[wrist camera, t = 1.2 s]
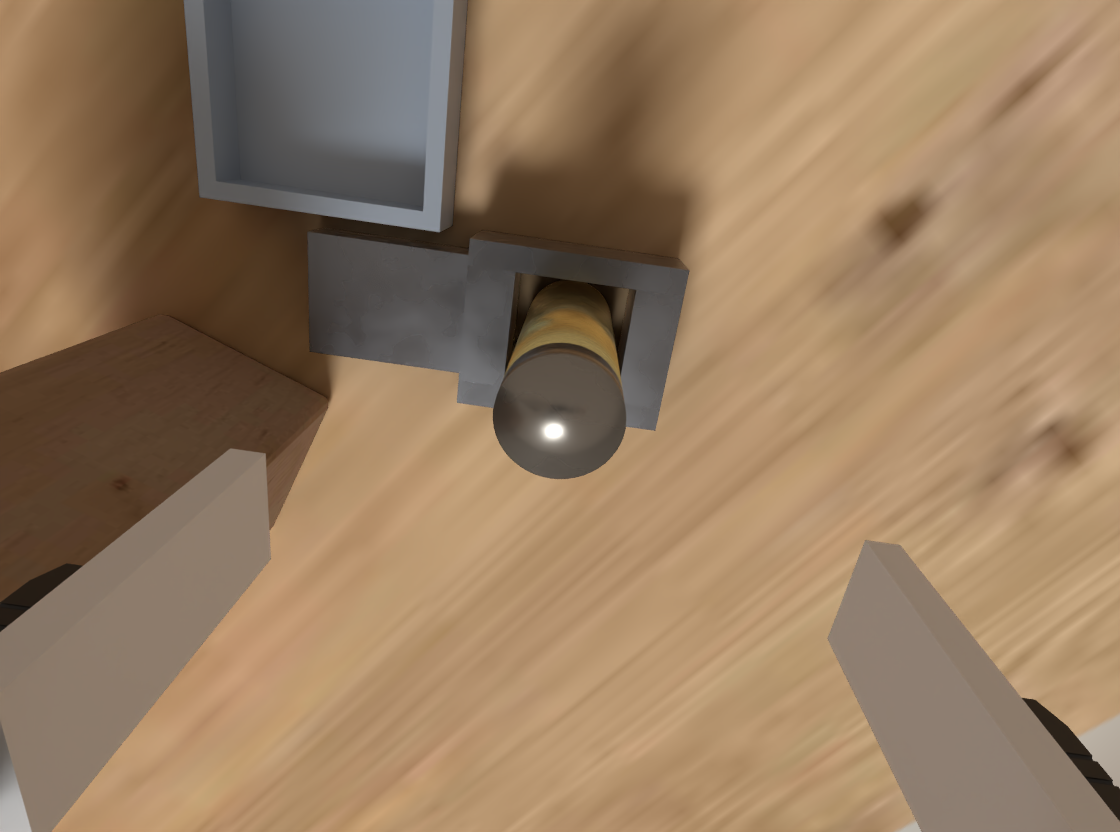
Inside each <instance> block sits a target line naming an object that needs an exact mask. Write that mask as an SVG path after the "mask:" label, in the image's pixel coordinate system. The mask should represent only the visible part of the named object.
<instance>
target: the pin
mask: <svg viewBox="0 0 1120 832" xmlns="http://www.w3.org/2000/svg"><path fill="white" fill-rule="evenodd" d="M493 424H494V429H495V433H496V436H497V439H498V441H499V443H500V445H501V447H502V448H503V450H504V451H505V452H506V454H507V455H508V456H509V457H510V458H511V459H512V460H513V461H514V462H515V463H516V464H518V465H519V466H520V467H522V468H523V469H525V470H527V471H529V472H531V473H533V474H536V475H539V476H542V477H547V478H553V479H569V478H575V477H579V476H583V475H586V474H588V473H590V472H592V471H594V470H596V469H598V468H599V467H601V466H602V465H603V464H605V463H606V462H607V461H608V460H609V459H610V458H611V457H612V456H613V454H614V453H615V452H616V450H617V449H618V447H619V445H620V444H621V441H622V439H623V436H624V433H625V429H626V408H625V402H624V396H623V389H622V383H621V377H620V370H619V364H618V358H617V352H616V345H615V339H614V333H613V326H612V320H611V314H610V309H609V306H608V304H607V302H606V300H605V299H604V297H603V296H602V294H601V293H600V292H599V291H598V290H597V289H595V288H594V287H593V286H591V285H589V284H587V283H585V282H580V281H573V280H560V281H557V282H554V283H552V284H550V285H548V286H546V287H545V288H543V289H542V290H541V291H540V292H539V293H538V294H537V295H536V297H535V298H534V300H533V302H532V304H531V306H530V309H529V311H528V314H527V317H526V319H525V322H524V325H523V327H522V330H521V333H520V335H519V338H518V340H517V343H516V346H515V348H514V351H513V354H512V356H511V359H510V362H509V364H508V367H507V370H506V372H505V375H504V378H503V380H502V383H501V386H500V388H499V391H498V394H497V396H496V400H495V403H494V408H493Z"/></svg>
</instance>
